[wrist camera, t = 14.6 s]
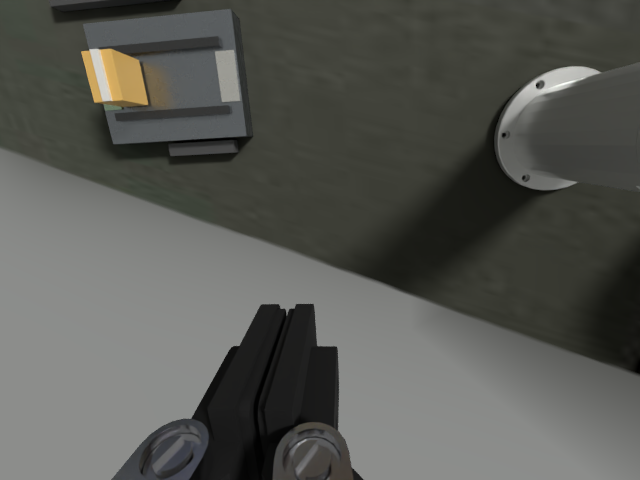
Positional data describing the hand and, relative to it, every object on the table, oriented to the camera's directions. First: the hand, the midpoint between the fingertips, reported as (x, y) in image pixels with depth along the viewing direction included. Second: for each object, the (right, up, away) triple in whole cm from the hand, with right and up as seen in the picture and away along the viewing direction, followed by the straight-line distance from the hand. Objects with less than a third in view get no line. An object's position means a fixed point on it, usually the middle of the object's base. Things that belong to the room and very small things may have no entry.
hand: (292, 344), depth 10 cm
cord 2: (-13, +15, +27) cm, 33 cm away
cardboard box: (-20, +20, +23) cm, 36 cm away
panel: (-15, +21, +25) cm, 36 cm away
